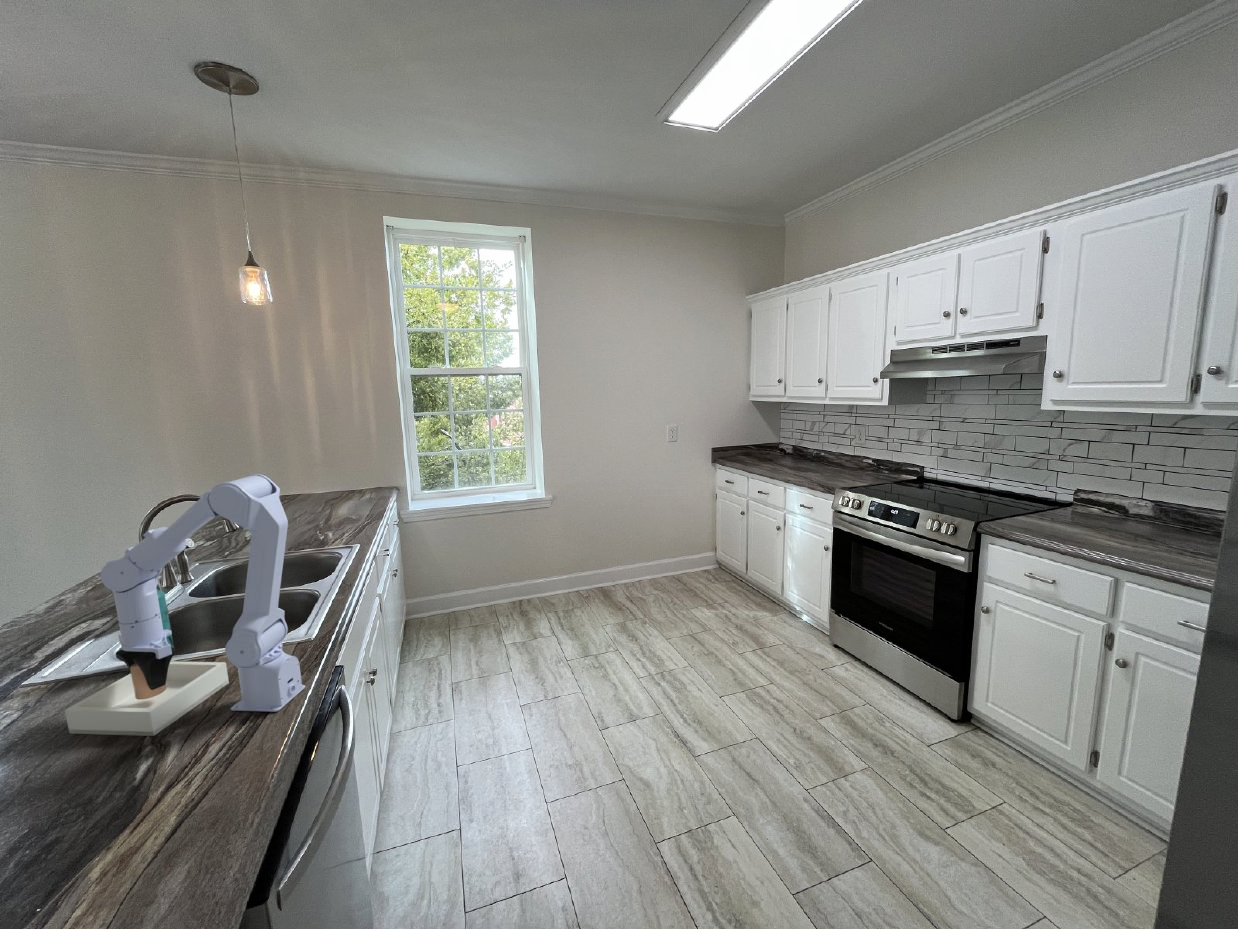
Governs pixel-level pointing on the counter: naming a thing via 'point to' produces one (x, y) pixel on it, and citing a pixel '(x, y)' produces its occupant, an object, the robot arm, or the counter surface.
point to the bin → (147, 702)
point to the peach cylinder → (143, 684)
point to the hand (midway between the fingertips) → (151, 684)
